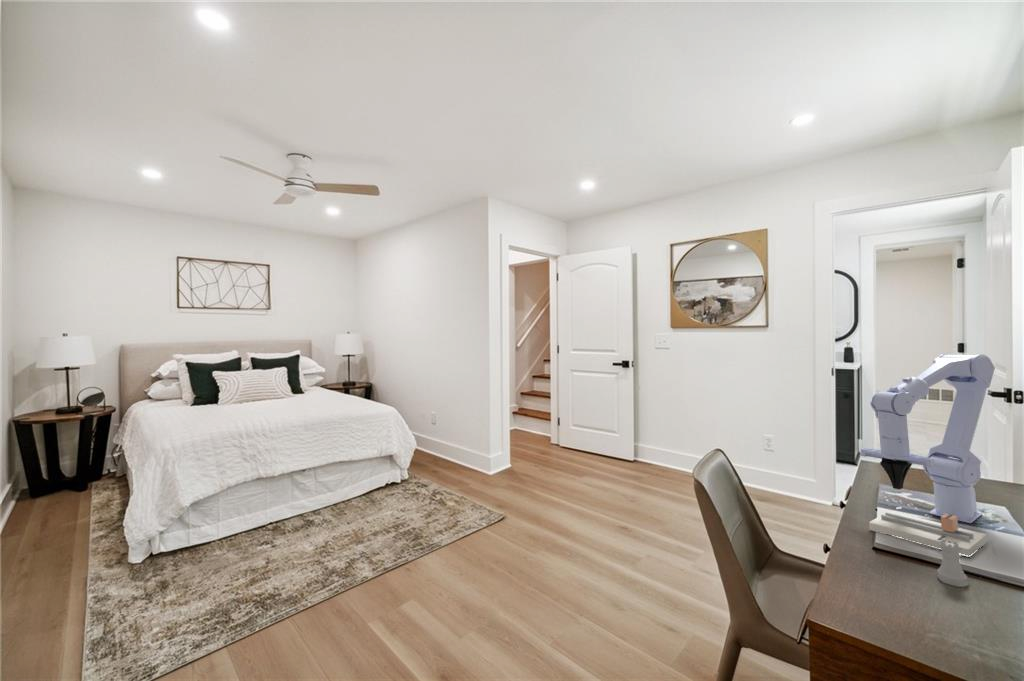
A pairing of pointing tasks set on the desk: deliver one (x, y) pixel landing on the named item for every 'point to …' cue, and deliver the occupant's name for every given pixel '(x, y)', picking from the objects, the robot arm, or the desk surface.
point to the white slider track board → (926, 531)
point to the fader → (949, 522)
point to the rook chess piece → (951, 565)
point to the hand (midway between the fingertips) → (898, 488)
